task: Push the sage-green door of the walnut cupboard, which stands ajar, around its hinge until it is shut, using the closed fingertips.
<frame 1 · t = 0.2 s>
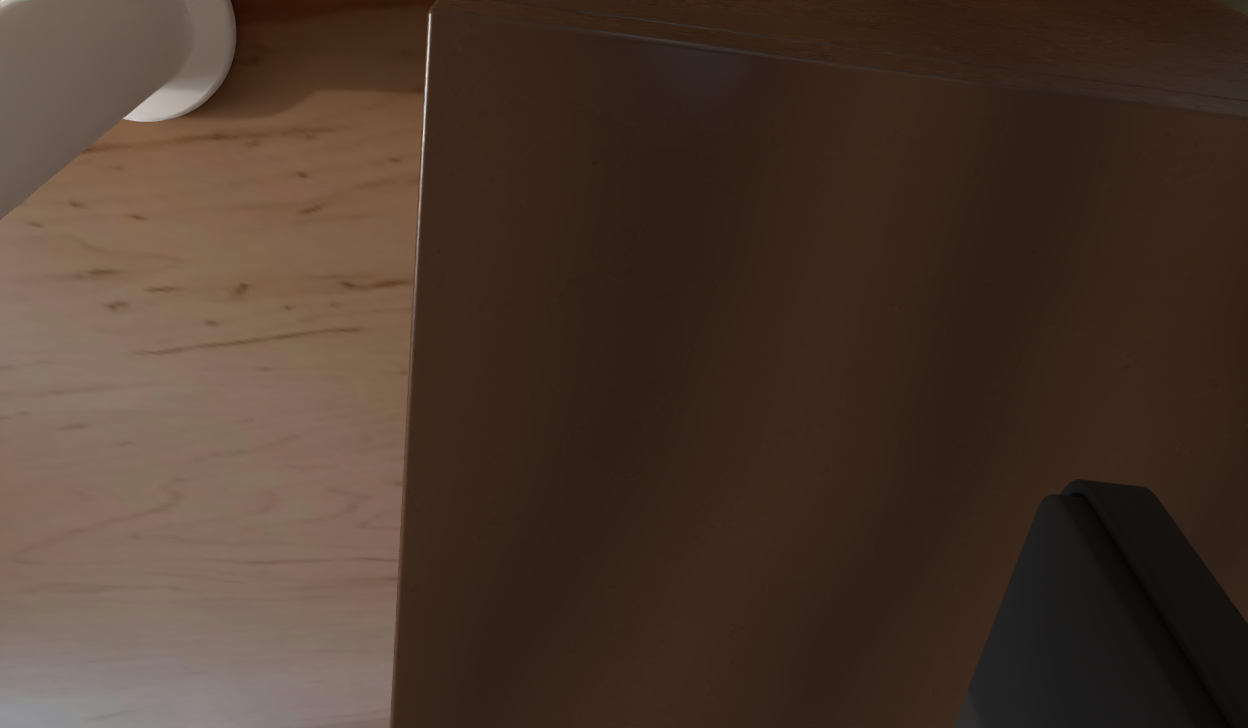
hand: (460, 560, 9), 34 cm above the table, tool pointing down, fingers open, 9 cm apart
candle: (137, 16, 41), on the table
cupboard: (723, 248, 45), on the table
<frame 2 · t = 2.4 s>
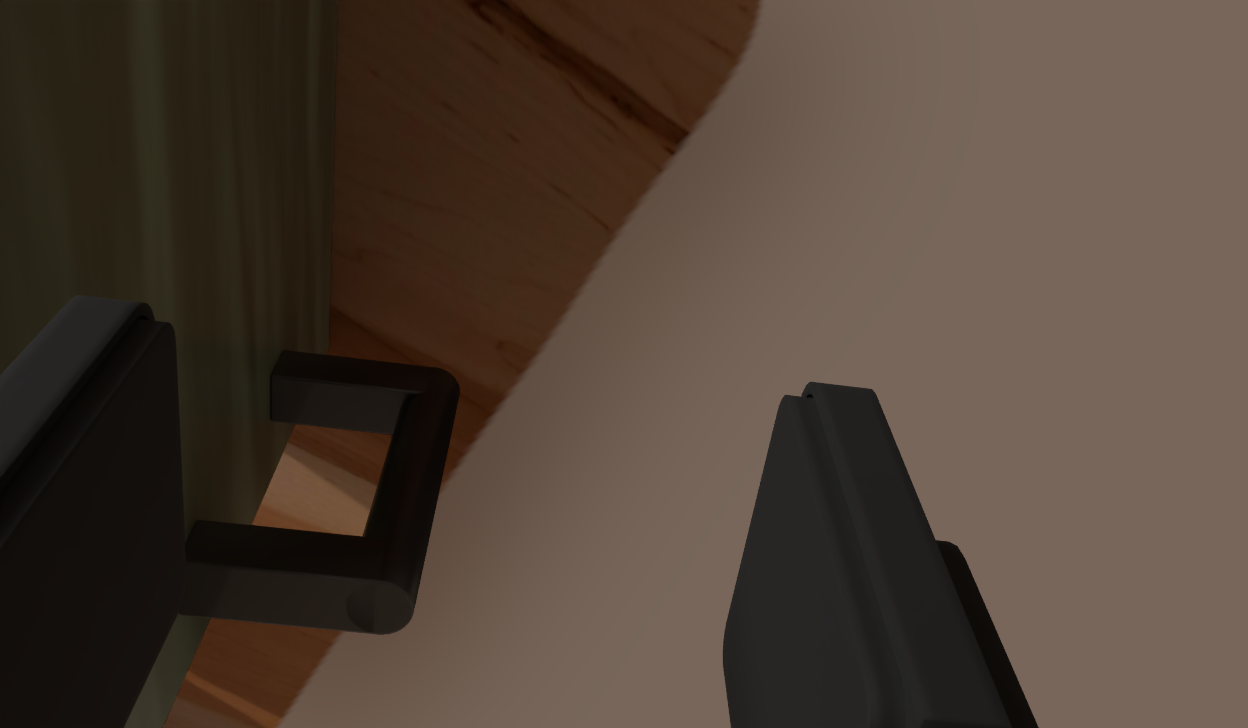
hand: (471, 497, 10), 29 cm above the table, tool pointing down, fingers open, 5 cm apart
cupboard door: (328, 95, 26), point 12 cm above the table, hinge at 40.0°
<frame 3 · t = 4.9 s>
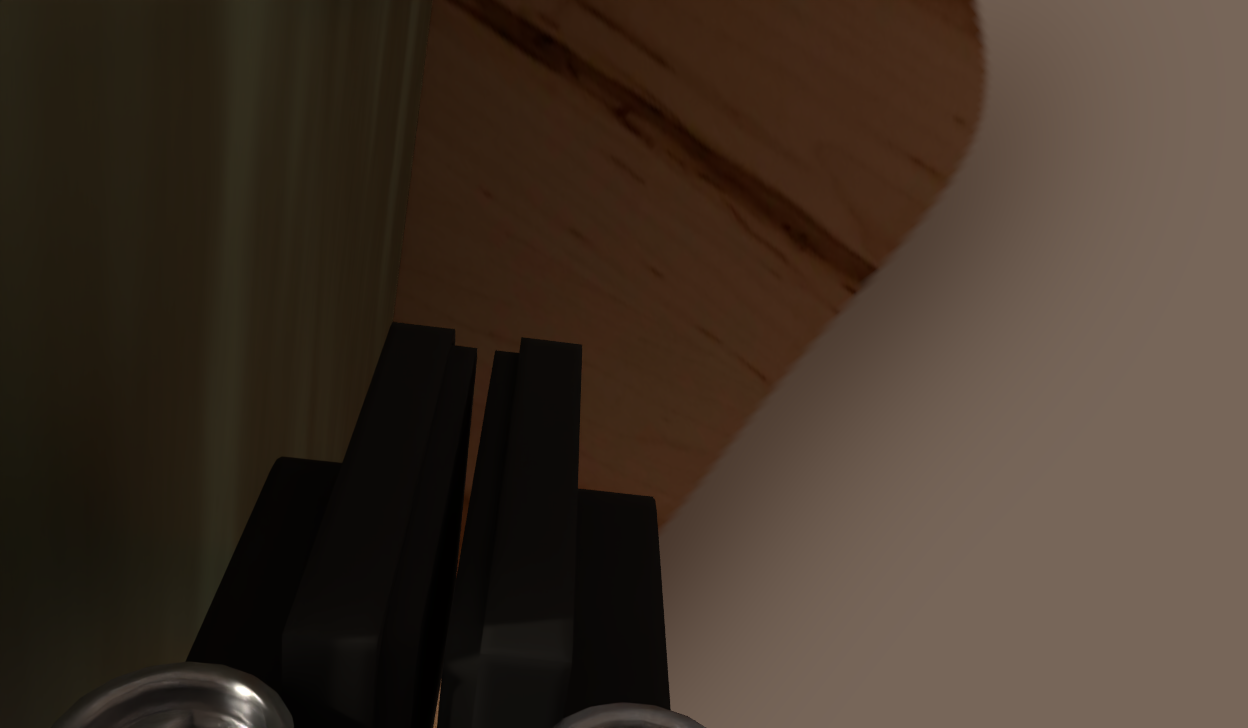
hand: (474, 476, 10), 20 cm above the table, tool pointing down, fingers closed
cupboard door: (458, 308, 18), point 12 cm above the table, hinge at 37.2°, touching gripper
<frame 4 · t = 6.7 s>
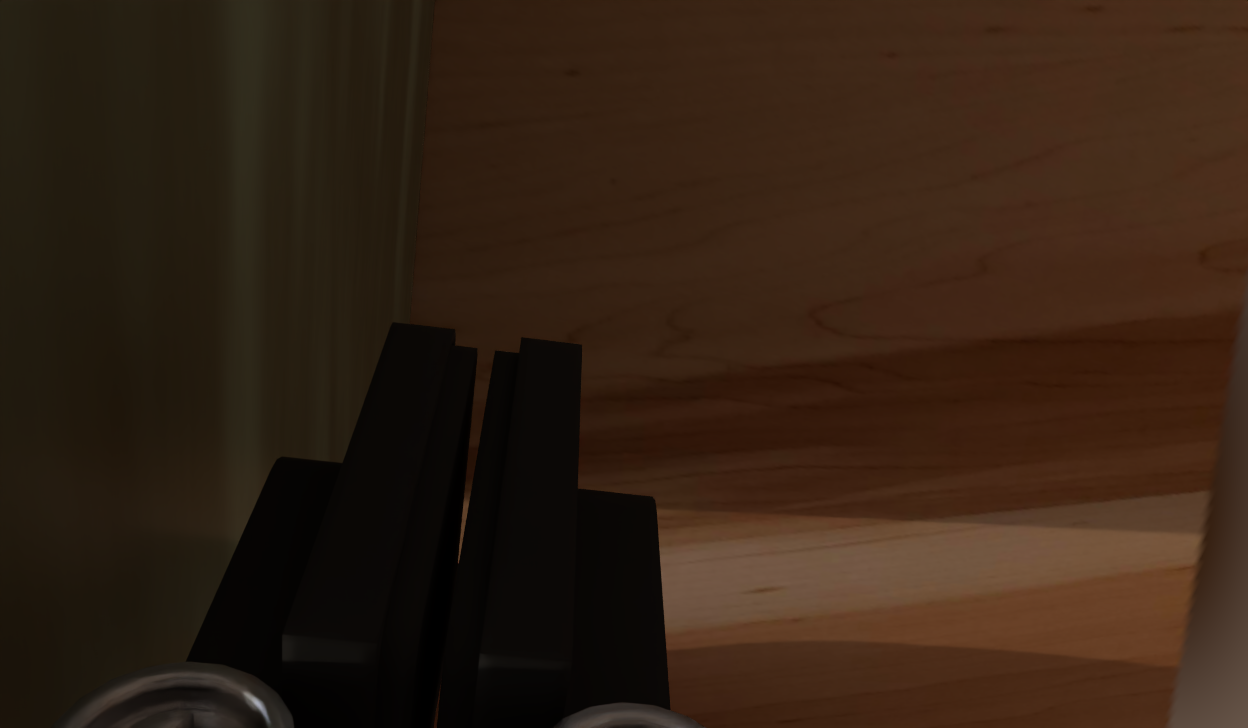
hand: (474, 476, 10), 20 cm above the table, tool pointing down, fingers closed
cupboard door: (470, 298, 18), point 12 cm above the table, hinge at -0.1°, touching gripper
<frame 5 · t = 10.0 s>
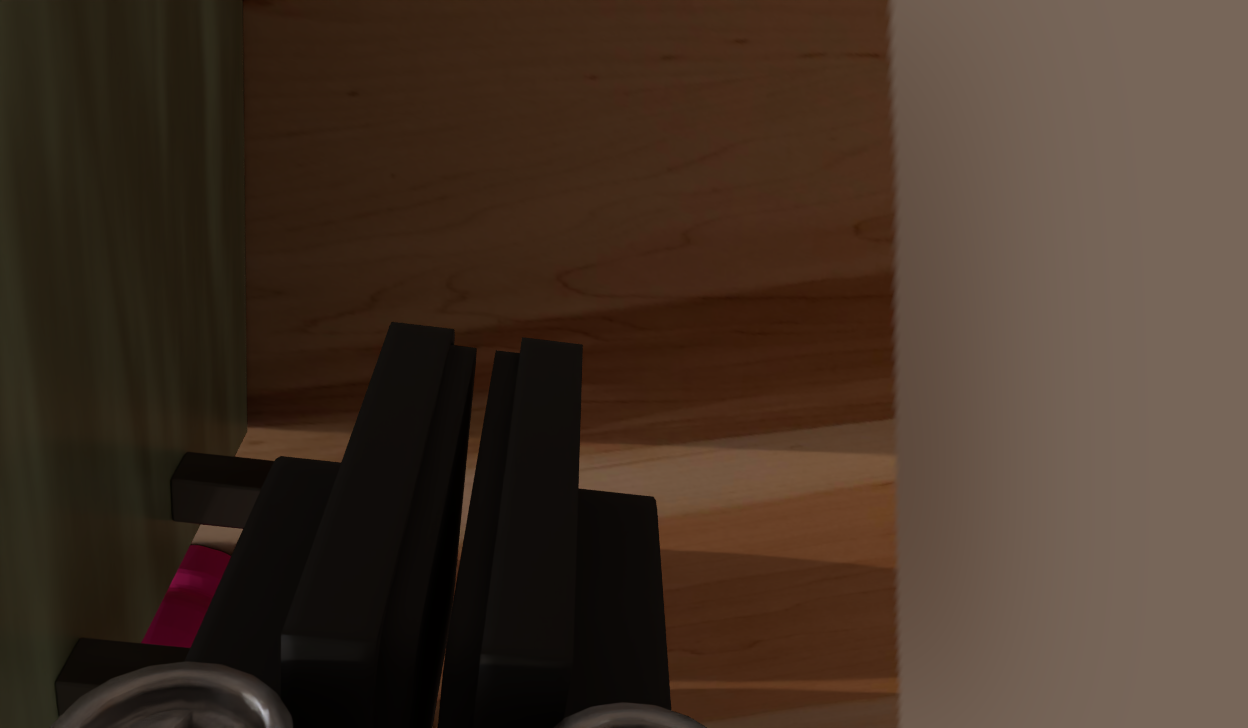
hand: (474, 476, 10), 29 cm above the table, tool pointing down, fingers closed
cupboard door: (199, 244, 27), point 12 cm above the table, hinge at -0.1°
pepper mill: (198, 599, 48), on the table
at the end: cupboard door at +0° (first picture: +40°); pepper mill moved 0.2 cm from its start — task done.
